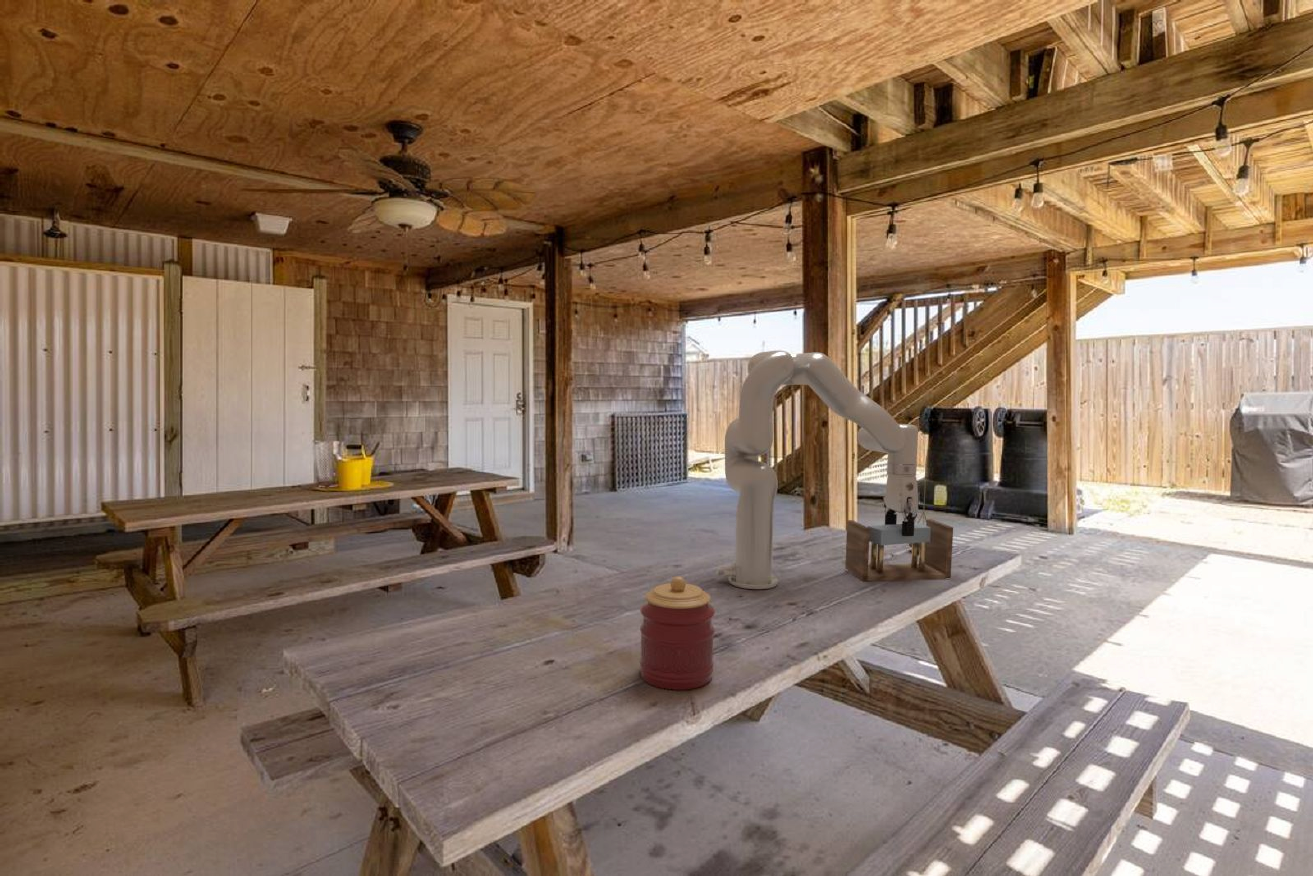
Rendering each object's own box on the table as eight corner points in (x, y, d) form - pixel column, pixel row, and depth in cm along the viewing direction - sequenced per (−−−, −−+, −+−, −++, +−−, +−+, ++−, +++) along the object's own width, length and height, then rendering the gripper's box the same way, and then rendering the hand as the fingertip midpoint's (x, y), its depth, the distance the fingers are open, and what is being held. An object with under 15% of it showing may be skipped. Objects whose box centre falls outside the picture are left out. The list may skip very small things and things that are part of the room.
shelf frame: (862, 580, 182) (864, 528, 181) (845, 569, 193) (847, 520, 192) (950, 578, 185) (953, 527, 184) (929, 567, 196) (931, 519, 195)
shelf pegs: (878, 573, 185) (879, 543, 185) (869, 567, 191) (870, 539, 190) (925, 572, 187) (927, 543, 186) (915, 566, 193) (916, 538, 192)
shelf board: (915, 537, 194) (915, 523, 193) (930, 541, 188) (930, 527, 188) (867, 540, 189) (867, 526, 188) (880, 545, 183) (881, 530, 183)
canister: (676, 699, 112) (678, 592, 111) (624, 674, 121) (625, 575, 120) (728, 676, 121) (731, 578, 120) (676, 655, 130) (677, 563, 129)
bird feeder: (907, 554, 212) (912, 457, 209) (906, 548, 220) (910, 454, 218) (938, 557, 209) (943, 458, 207) (936, 550, 217) (940, 455, 215)
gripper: (931, 473, 179) (928, 539, 180) (899, 465, 196) (896, 525, 197) (904, 474, 178) (901, 539, 179) (874, 465, 195) (871, 525, 196)
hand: (898, 532), depth 188 cm, fingers open, 9 cm apart
